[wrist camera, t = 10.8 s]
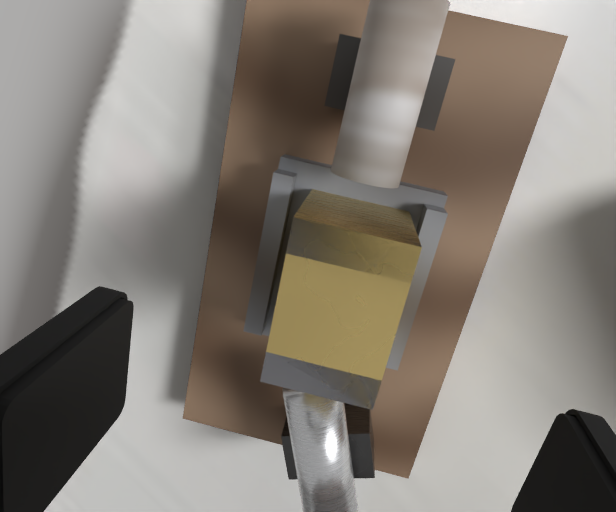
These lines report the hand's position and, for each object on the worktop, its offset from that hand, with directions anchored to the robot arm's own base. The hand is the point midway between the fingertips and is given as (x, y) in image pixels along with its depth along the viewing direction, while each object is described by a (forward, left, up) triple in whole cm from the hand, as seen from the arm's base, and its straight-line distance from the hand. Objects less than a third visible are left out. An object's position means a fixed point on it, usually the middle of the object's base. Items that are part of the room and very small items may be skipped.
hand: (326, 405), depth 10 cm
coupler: (0, 0, -10) cm, 10 cm away
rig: (+1, 0, -13) cm, 13 cm away
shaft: (+8, +1, -11) cm, 14 cm away
